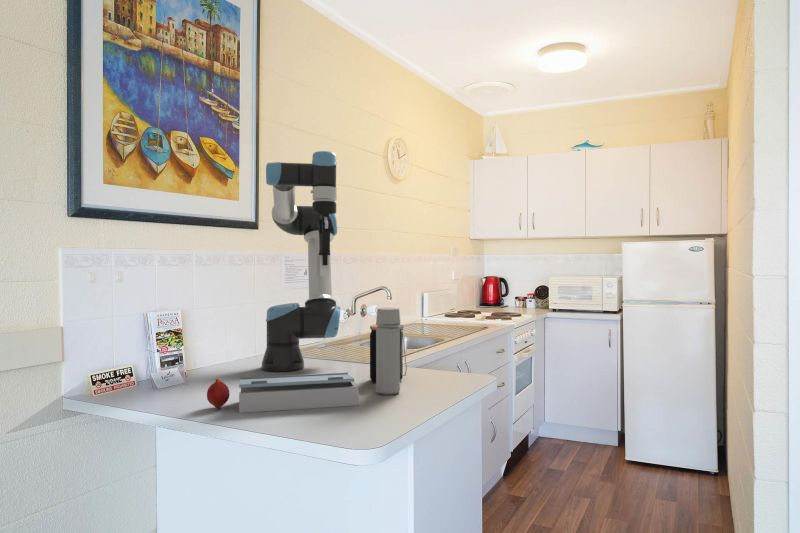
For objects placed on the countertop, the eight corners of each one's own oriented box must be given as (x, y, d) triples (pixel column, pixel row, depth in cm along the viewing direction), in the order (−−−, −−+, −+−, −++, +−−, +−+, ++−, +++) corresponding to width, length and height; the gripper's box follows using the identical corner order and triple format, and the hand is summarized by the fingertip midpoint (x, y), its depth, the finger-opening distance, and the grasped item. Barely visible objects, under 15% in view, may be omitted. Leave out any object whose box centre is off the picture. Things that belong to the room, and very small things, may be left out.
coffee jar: (399, 385, 175) (399, 328, 175) (366, 383, 177) (366, 327, 177) (405, 378, 186) (405, 324, 186) (374, 376, 188) (374, 323, 188)
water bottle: (377, 396, 161) (377, 309, 161) (374, 390, 169) (374, 307, 168) (408, 395, 162) (408, 309, 162) (404, 388, 170) (404, 307, 170)
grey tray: (241, 401, 155) (240, 383, 155) (351, 394, 163) (351, 377, 163) (239, 412, 144) (239, 393, 144) (358, 405, 151) (358, 386, 151)
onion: (206, 406, 150) (206, 376, 150) (229, 404, 152) (229, 375, 152) (206, 411, 145) (206, 381, 145) (229, 410, 146) (229, 379, 146)
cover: (241, 377, 156) (239, 382, 144) (347, 371, 163) (354, 376, 151) (241, 382, 156) (239, 387, 144) (347, 376, 163) (354, 381, 151)
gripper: (310, 203, 182) (310, 275, 182) (314, 198, 169) (314, 276, 169) (333, 203, 183) (333, 275, 184) (338, 199, 171) (339, 276, 171)
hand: (324, 275), depth 176 cm, fingers closed
